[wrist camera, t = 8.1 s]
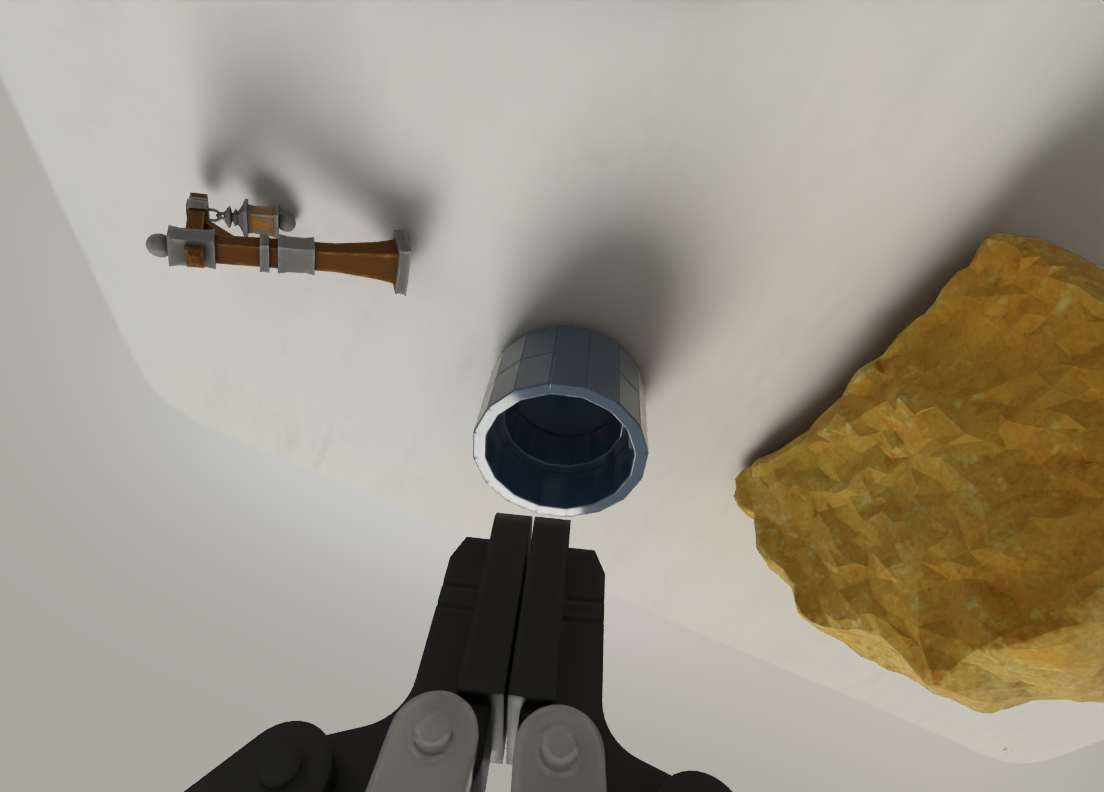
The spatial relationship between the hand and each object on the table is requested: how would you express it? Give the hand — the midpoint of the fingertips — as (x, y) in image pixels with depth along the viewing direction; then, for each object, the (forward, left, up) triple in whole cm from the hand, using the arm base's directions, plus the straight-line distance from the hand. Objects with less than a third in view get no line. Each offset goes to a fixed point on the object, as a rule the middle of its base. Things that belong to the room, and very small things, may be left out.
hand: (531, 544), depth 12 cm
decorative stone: (+15, -5, -13) cm, 21 cm away
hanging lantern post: (-10, 0, -13) cm, 16 cm away
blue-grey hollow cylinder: (0, -5, -13) cm, 14 cm away
